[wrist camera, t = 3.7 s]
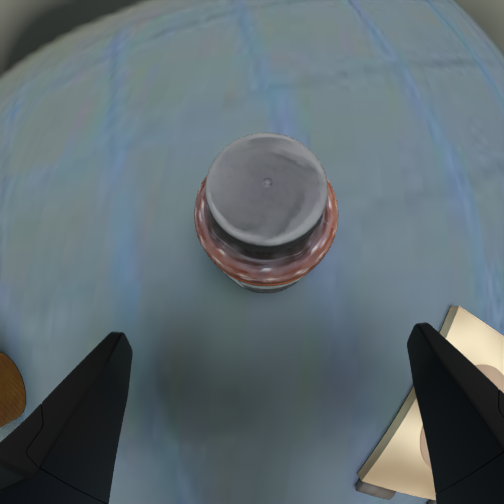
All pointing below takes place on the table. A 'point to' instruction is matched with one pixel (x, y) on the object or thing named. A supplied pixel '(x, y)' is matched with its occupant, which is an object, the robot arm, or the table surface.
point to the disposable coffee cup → (10, 391)
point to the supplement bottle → (266, 212)
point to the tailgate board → (410, 423)
